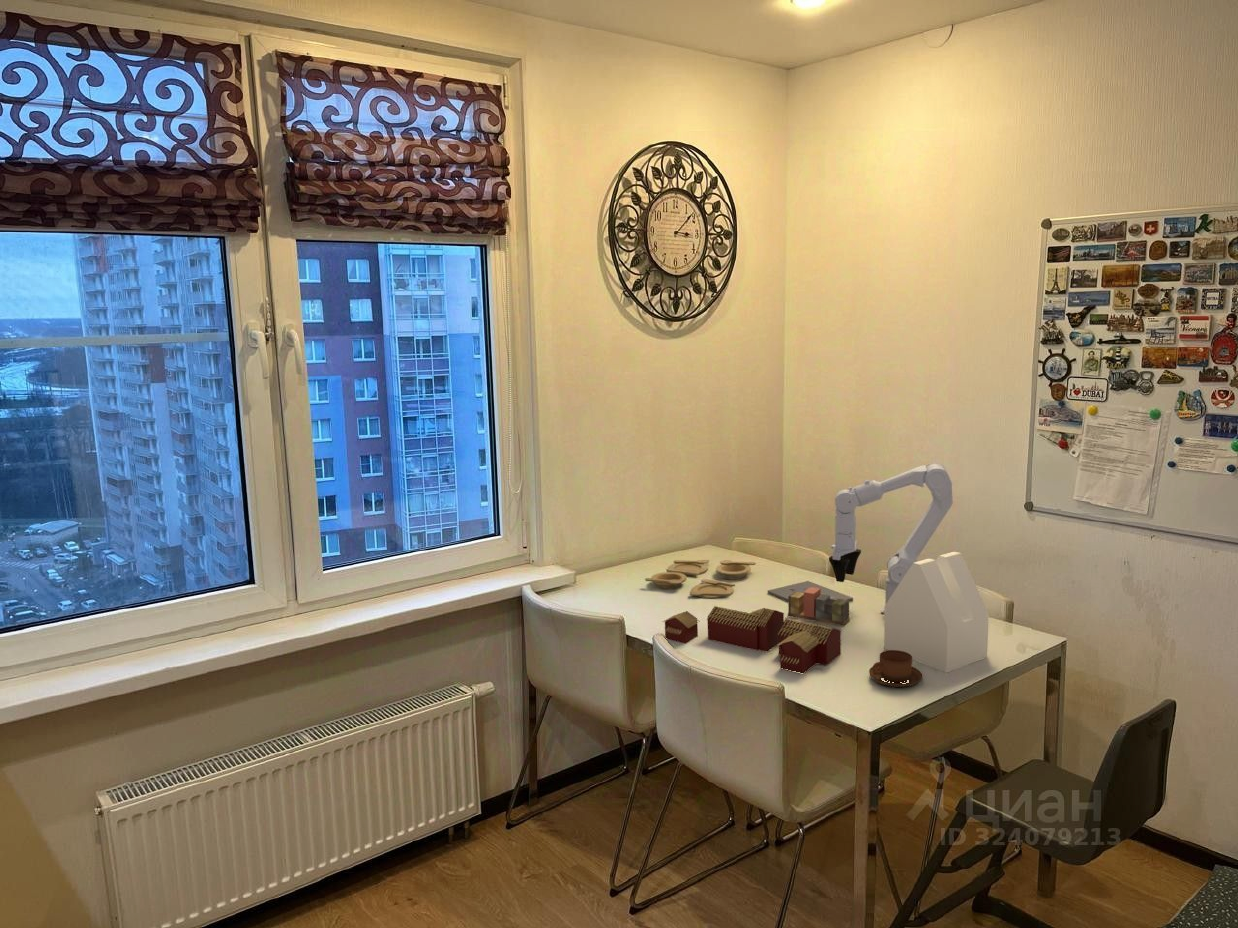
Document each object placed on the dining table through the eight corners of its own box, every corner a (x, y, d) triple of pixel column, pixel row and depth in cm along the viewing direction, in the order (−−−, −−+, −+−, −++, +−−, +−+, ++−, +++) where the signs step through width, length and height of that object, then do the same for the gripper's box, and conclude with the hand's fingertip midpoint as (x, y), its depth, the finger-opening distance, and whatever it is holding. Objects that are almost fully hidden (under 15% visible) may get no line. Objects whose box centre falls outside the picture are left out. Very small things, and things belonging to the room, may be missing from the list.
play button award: (811, 608, 261) (767, 590, 278) (811, 613, 261) (767, 595, 278) (853, 597, 269) (807, 580, 286) (853, 602, 269) (807, 585, 286)
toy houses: (845, 651, 232) (845, 614, 231) (809, 679, 216) (809, 639, 214) (696, 619, 259) (695, 585, 257) (655, 642, 243) (654, 606, 241)
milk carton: (884, 648, 233) (885, 554, 228) (924, 634, 241) (926, 544, 236) (946, 672, 217) (949, 572, 212) (987, 657, 225) (990, 560, 220)
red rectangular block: (820, 612, 258) (820, 588, 256) (813, 617, 253) (813, 593, 252) (810, 610, 259) (810, 587, 258) (803, 615, 255) (803, 592, 254)
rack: (849, 620, 253) (849, 598, 251) (843, 626, 249) (844, 603, 248) (794, 611, 262) (794, 589, 261) (787, 616, 258) (787, 594, 257)
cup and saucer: (900, 696, 206) (900, 670, 205) (858, 679, 215) (858, 654, 214) (932, 681, 212) (933, 657, 211) (891, 666, 222) (891, 642, 221)
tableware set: (678, 562, 315) (678, 551, 315) (759, 570, 303) (759, 558, 302) (636, 593, 284) (636, 581, 284) (725, 603, 272) (725, 590, 271)
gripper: (841, 524, 266) (840, 569, 269) (822, 536, 254) (822, 582, 257) (864, 527, 262) (863, 572, 265) (846, 539, 251) (846, 586, 253)
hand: (844, 577), depth 261 cm, fingers open, 7 cm apart
